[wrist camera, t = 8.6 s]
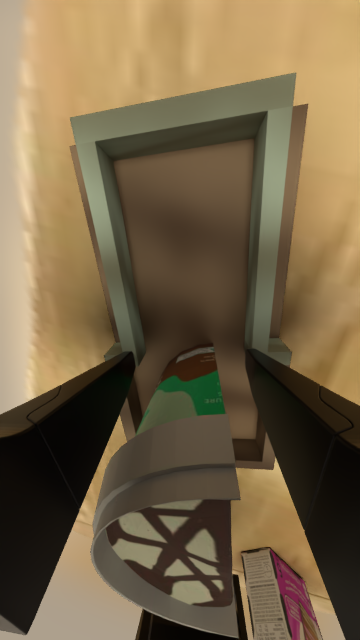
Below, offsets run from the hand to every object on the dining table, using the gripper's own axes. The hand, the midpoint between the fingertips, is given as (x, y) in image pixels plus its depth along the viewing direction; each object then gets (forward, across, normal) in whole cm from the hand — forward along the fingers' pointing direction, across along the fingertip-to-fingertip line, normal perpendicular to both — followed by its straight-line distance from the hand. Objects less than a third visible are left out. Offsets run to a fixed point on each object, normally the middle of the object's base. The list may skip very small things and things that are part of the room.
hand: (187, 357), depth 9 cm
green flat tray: (+5, 0, +3) cm, 6 cm away
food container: (+5, +1, +7) cm, 8 cm away
